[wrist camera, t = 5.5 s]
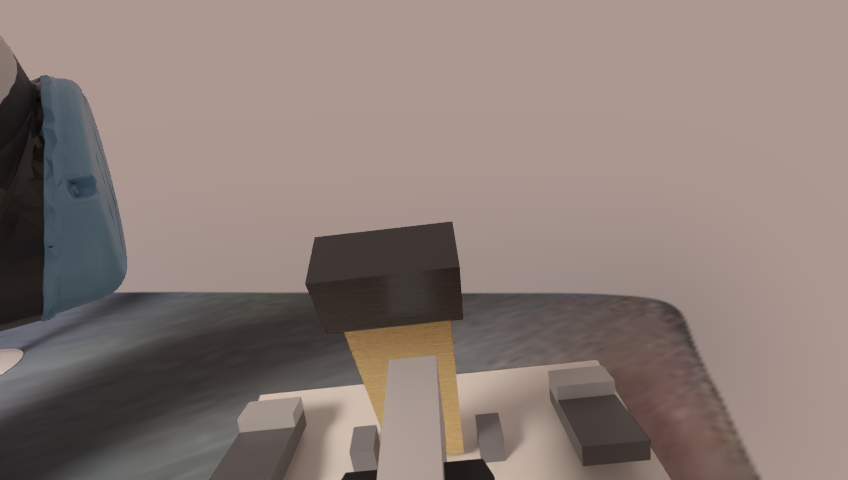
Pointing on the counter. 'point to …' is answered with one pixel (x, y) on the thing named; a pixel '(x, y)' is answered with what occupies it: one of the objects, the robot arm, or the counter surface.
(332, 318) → the brass lever
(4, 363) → the champagne flute
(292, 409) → the block
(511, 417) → the switch panel
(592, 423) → the block
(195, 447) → the counter surface
